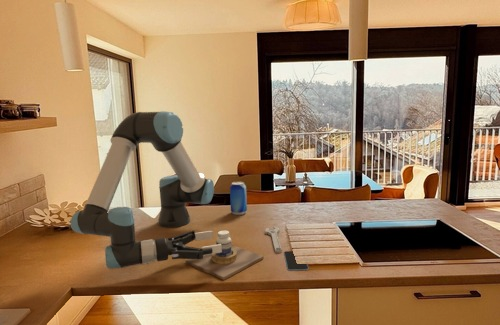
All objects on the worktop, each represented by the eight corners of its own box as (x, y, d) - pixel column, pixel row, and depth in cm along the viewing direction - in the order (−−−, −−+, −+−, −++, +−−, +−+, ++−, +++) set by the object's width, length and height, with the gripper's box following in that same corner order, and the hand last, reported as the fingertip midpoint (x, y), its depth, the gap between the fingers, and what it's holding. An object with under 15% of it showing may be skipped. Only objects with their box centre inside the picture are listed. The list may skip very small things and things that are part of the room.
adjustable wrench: (282, 254, 130) (282, 249, 130) (265, 254, 130) (265, 250, 130) (279, 229, 155) (279, 226, 154) (265, 230, 155) (264, 226, 155)
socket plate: (185, 262, 124) (185, 254, 124) (225, 245, 139) (225, 238, 138) (223, 280, 111) (223, 271, 110) (263, 258, 125) (263, 250, 125)
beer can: (249, 210, 183) (248, 181, 180) (243, 215, 175) (242, 185, 172) (234, 209, 185) (233, 180, 183) (228, 214, 178) (227, 184, 175)
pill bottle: (217, 255, 127) (216, 230, 126) (231, 254, 128) (230, 229, 126) (216, 261, 122) (215, 235, 120) (232, 260, 122) (231, 234, 121)
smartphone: (302, 250, 131) (309, 269, 116) (302, 252, 131) (309, 271, 116) (283, 250, 131) (287, 269, 116) (283, 253, 131) (287, 271, 116)
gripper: (154, 246, 128) (210, 238, 135) (158, 277, 105) (226, 265, 111) (152, 227, 127) (209, 220, 133) (156, 254, 104) (225, 243, 110)
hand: (216, 240), depth 122 cm, fingers open, 13 cm apart
